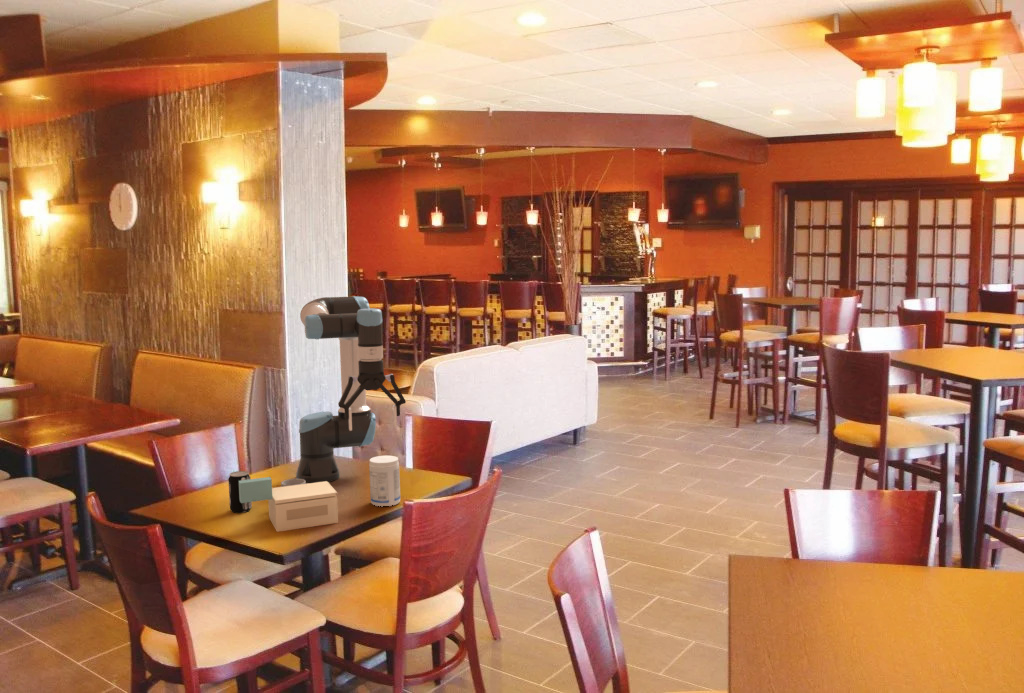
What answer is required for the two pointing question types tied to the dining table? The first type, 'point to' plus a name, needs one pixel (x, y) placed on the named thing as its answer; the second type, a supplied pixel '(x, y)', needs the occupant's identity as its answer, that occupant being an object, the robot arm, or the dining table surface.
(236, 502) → the beverage can
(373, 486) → the supplement tub
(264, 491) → the flap
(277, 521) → the carton
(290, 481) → the cup
